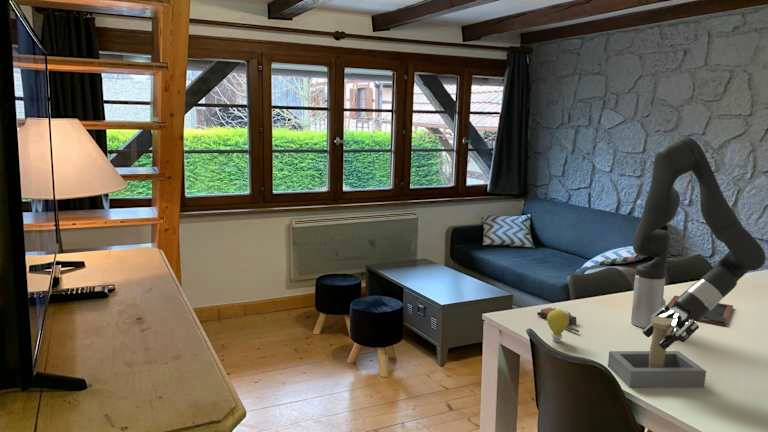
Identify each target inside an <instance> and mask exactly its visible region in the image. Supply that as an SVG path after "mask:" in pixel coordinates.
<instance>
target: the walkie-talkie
mask: <svg viewBox="0 0 768 432" xmlns="http://www.w3.org/2000/svg"><path fill="white" fill-rule="evenodd" d="M553 310H556V307H545V308H541V309H540V311H537V312H536V313H537V314H536V315H537V316H539V317H540V318H542V319H544V320H546V321H547V316H548V314H549V313H550V312H551V311H553ZM558 310H562V311H564V312H565V313H566V314H567V316H568V318H569V323H568V325H567V327H566V328H565V330H566V329H567V330H569V331H573V332H575V333H578V334H579V333H580V330H579V329H577V328H574V327H572V326H575V325H576V324H577V323H578V322H577V316H574V315H571V312H569V311H567V310H564V309H562V308H561V309H558Z"/></svg>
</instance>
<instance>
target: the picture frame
mask: <svg viewBox="0 0 768 432" xmlns="http://www.w3.org/2000/svg"><path fill="white" fill-rule="evenodd" d="M679 296H680V295H674V296H673V297H672V298H671V299H670V301H669V302H668V303H667V305H668V306H669V307H670V308H673V307H675V300H676V299H677V298H678V297H679ZM733 308H734V305H732V304H726V303H721V302H719V303H718V304H717V305H716V306H715V307H714V308H713V309H712V310H710V311H709V312H708V313H707V314H706V315H705V316H704V317H703V318H702V319H700V320H699V321H698V323H699V322H700V323H702V324H703V323H704V324H710V325H714V326H718V327H724V328H726V327H727V325H728V322H729V319H730V317H731V315H732V311H733Z"/></svg>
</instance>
